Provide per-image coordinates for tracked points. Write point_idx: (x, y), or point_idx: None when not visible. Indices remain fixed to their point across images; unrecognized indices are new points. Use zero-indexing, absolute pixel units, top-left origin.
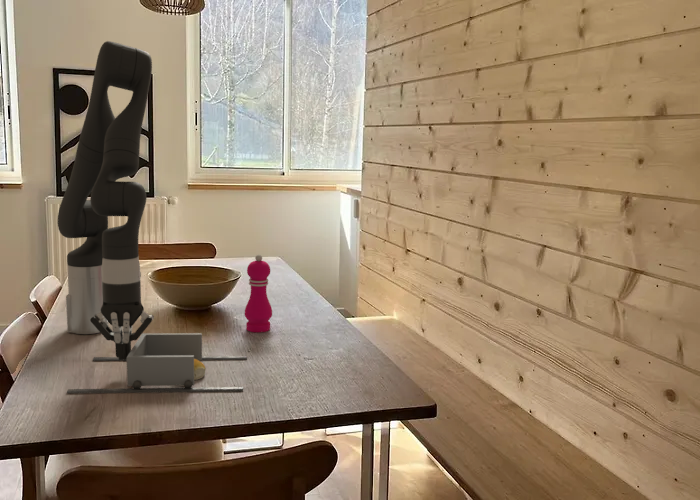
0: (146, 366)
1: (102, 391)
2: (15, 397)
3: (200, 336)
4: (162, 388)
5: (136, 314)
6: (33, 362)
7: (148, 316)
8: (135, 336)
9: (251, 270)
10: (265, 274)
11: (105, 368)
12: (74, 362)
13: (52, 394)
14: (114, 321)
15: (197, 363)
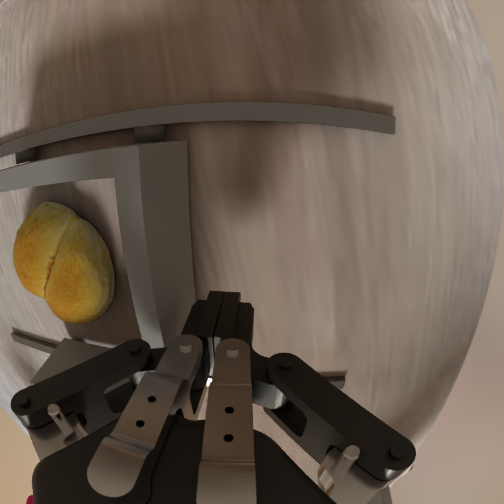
0: (82, 152)
1: (272, 103)
2: (497, 126)
3: (34, 379)
4: (79, 131)
5: (65, 460)
6: (462, 355)
7: (30, 430)
8: (127, 354)
9: None
10: (28, 497)
11: (305, 330)
12: (388, 365)
13: (429, 121)
14: (230, 450)
15: (13, 257)
